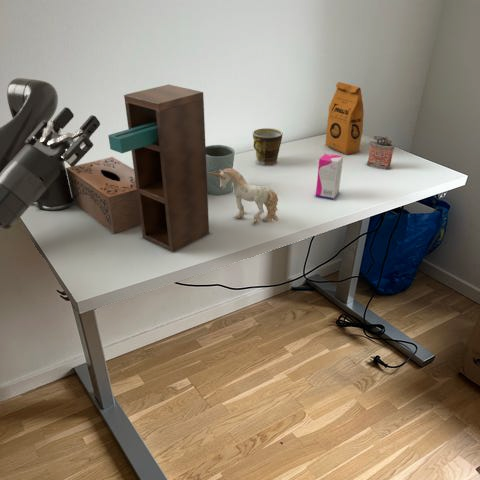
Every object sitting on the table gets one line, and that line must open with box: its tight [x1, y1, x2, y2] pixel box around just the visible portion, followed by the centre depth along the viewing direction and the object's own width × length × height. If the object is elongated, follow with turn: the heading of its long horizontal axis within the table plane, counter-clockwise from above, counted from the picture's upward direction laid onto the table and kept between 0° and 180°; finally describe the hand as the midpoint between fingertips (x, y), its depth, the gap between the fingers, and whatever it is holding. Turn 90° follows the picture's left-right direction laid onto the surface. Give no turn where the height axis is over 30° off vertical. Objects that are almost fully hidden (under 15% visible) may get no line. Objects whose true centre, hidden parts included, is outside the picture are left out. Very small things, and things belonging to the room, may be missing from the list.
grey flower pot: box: [206, 144, 236, 196], centre depth 148 cm, size 10×10×12 cm
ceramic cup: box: [252, 127, 283, 167], centre depth 167 cm, size 13×10×10 cm
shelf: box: [123, 84, 210, 253], centre depth 117 cm, size 13×11×34 cm
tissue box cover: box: [65, 156, 141, 234], centre depth 137 cm, size 26×14×10 cm, turn 39°
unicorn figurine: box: [207, 168, 280, 225], centre depth 132 cm, size 7×20×13 cm, turn 74°
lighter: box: [366, 134, 395, 170], centre depth 165 cm, size 8×3×10 cm, turn 58°
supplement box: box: [315, 152, 344, 200], centre depth 145 cm, size 6×6×12 cm
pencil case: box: [107, 121, 159, 154], centre depth 109 cm, size 22×4×3 cm, turn 139°
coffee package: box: [324, 81, 364, 156], centre depth 175 cm, size 10×12×22 cm
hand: (83, 114), depth 95 cm, fingers open, 8 cm apart
